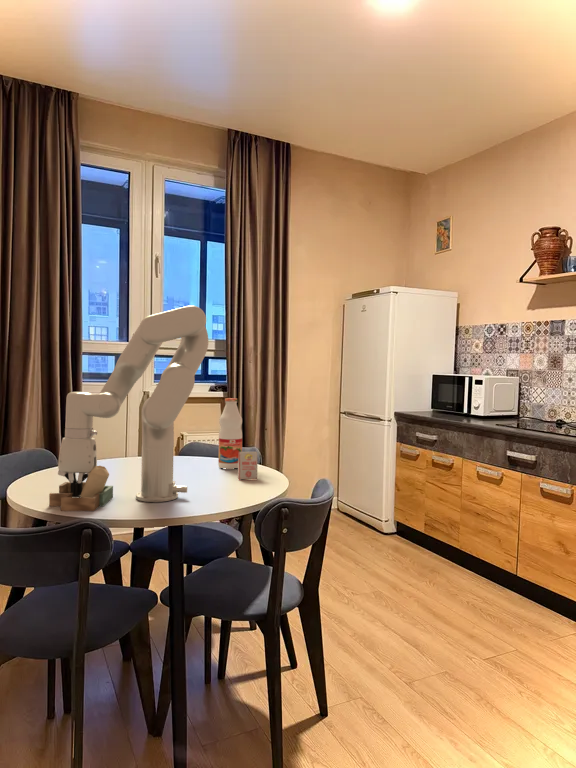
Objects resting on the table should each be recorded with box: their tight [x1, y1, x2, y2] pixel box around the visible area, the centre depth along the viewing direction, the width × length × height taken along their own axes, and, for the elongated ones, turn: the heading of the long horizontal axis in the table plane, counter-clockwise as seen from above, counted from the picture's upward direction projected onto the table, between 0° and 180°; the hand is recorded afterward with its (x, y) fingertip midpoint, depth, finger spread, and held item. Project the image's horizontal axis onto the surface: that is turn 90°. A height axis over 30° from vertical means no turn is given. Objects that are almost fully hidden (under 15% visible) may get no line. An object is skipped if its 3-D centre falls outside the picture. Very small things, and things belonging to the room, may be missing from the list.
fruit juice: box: [217, 397, 243, 470], centre depth 218 cm, size 9×9×28 cm
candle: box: [80, 465, 110, 498], centre depth 160 cm, size 6×6×10 cm
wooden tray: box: [48, 481, 114, 512], centre depth 160 cm, size 16×21×4 cm
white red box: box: [237, 451, 258, 480], centre depth 197 cm, size 4×7×10 cm, turn 100°
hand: (76, 495), depth 160 cm, fingers closed
